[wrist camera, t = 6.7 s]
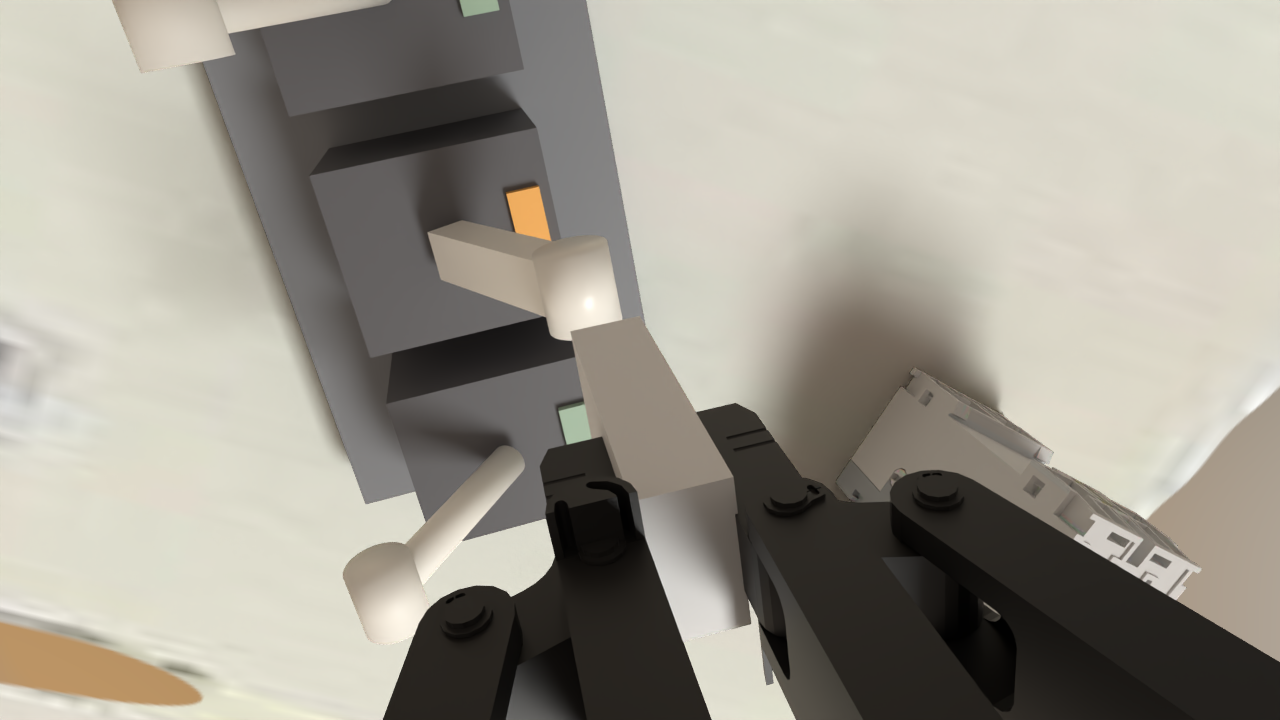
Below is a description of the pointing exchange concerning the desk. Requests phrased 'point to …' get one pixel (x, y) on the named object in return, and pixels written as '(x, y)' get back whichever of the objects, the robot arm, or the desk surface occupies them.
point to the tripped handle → (532, 273)
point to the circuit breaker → (1005, 477)
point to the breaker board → (306, 230)
